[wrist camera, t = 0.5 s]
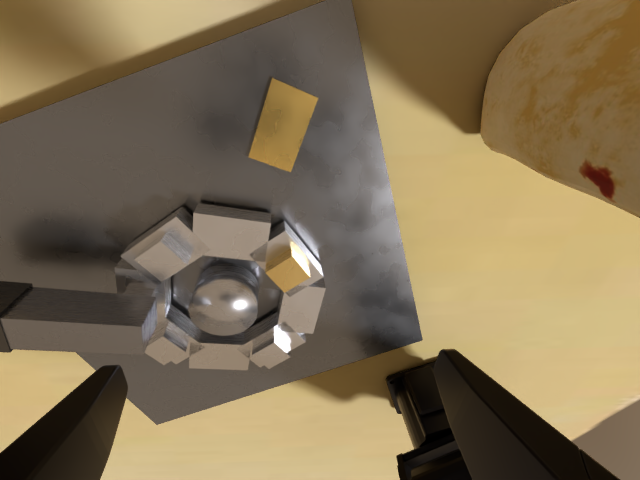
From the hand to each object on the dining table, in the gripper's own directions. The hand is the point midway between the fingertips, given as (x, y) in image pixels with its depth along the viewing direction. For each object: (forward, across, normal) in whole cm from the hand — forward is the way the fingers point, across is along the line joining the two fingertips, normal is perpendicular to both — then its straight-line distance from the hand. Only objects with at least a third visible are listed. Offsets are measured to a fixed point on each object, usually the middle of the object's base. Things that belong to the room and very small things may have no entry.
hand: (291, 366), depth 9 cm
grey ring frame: (+12, +8, +7) cm, 16 cm away
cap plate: (+14, +4, +6) cm, 16 cm away
